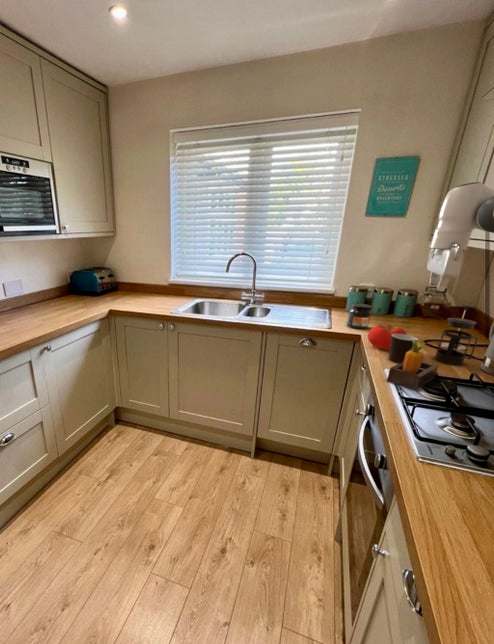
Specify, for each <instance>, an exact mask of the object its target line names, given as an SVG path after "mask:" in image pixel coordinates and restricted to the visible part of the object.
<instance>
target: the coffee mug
mask: <svg viewBox="0 0 494 644" xmlns="http://www.w3.org/2000/svg"><path fill="white" fill-rule="evenodd" d="M413 341H415V342H417V343H418V338H417V337H416V336H413V335H410V334H407V335H405V334H392V336H391V345H390V350H389V354H388V360H389V361H390V362H392V363H395V364H399V363H401V362H403V361H404V358H405V354H406V352H408V351H410V350H413V349H412V347H413Z"/></svg>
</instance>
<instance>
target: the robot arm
mask: <svg viewBox="0 0 494 644" xmlns="http://www.w3.org/2000/svg"><path fill="white" fill-rule="evenodd" d="M439 211H440V212H439V214H438V224H437V227H436V228H435V230H434V233H433V237H432V239H431V240H430V242H429V245H428V247H429V248H430V250H429V254H428V258H427V263H426V270H427V271H428V272H430V275H429V283H428V286H429V287H430V288H436V291H438V292H445V291H446V288H447V285H448V284H449V282H450V280H451V278H457V277H458V275H459V273H460V270H461V266H462V263H463V258H464V251H463V250H467V249H468V245H469V242H470V239H471V236H472V232H473V231H474V230H476V229H477V230H480V231H483V232H486V233H492V234H494V189H492V188H490V187H488V186H487V185H485V183H484V182H481V181H475V182H469V183H463V184H460V185H456V186H454V187H453V188H451V189H449V191H448V192H447V194H446V195H445V198H444V200H443V201H442V205H441V207H440V210H439ZM439 277H440V278H439ZM438 280H439V282H438Z"/></svg>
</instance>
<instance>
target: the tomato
mask: <svg viewBox="0 0 494 644" xmlns="http://www.w3.org/2000/svg"><path fill="white" fill-rule="evenodd" d="M392 334H405V335H408V334H407V332H406V330H405V329H404V328H402V327H400V326H396V327H395V326H391V324H385V325H381V324H377V325H375V326H374V327H372V328H371V329H370V330H369V332H368V334H367V340H368V341H369V343H370V344H371V345H372V346H373V347H375V348H377V349H379V350H385V351H390V345H391V336H392Z"/></svg>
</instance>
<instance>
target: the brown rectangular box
mask: <svg viewBox="0 0 494 644" xmlns="http://www.w3.org/2000/svg"><path fill="white" fill-rule="evenodd" d="M403 363H404V361H403V362H401V363H396V364H395V365H393V366H391V367H390V368H389V372H388V375H387V379H386V382H388V383H390V384H394V385H396V386H399V387H403V388H406V389H409V390H412V391H415V392H417V391H419V390H420V389H422V388H423V387H425V386H426V385H427V384H429V383H430V382H432V381H434V380H435V379H436V375H437V372H438V369H439V365H436V364H433V363H429V362H427V361H422V363H421V365H420V368H419V370H418V372H417V373H416V374H414V373H410V372H407V371H404V370H403ZM433 377H434V378H433ZM431 378H432V379H431ZM429 379H431V380H429ZM428 380H429V381H428ZM426 381H428V382H426ZM425 382H426V383H425Z"/></svg>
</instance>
